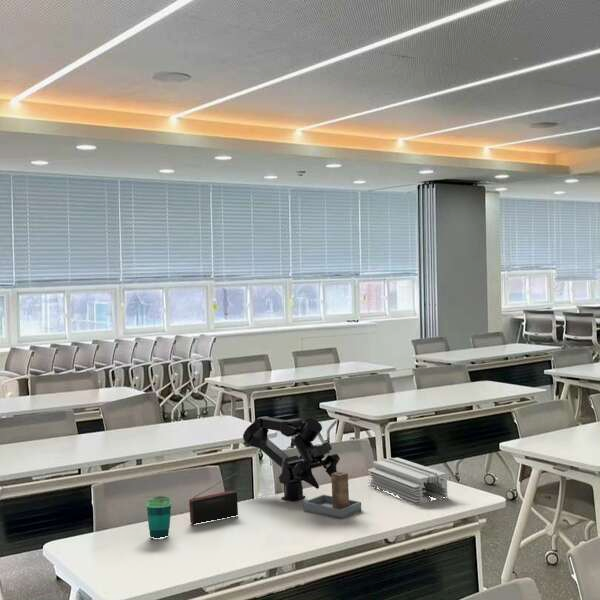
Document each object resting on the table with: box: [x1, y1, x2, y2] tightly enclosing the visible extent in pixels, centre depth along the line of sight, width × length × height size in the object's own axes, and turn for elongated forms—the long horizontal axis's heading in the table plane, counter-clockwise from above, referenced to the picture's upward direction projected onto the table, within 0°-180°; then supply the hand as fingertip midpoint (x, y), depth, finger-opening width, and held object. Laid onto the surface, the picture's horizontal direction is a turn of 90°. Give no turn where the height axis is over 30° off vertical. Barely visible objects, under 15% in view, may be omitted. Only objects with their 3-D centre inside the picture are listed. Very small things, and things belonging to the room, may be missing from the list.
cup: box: [145, 495, 173, 538], centre depth 254 cm, size 8×8×12 cm
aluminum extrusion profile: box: [367, 456, 449, 506], centre depth 292 cm, size 14×31×10 cm, turn 27°
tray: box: [302, 493, 362, 520], centre depth 273 cm, size 17×11×3 cm, turn 48°
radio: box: [188, 471, 240, 525], centre depth 268 cm, size 19×3×15 cm, turn 120°
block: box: [330, 470, 350, 509], centre depth 270 cm, size 4×4×13 cm
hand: (328, 485), depth 274 cm, fingers open, 9 cm apart
